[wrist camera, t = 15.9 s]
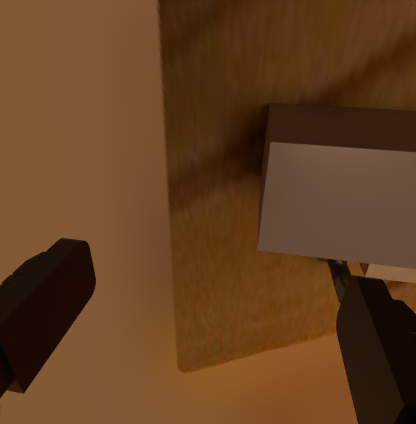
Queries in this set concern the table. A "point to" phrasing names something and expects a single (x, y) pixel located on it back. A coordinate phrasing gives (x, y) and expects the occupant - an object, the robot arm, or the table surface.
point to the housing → (339, 184)
